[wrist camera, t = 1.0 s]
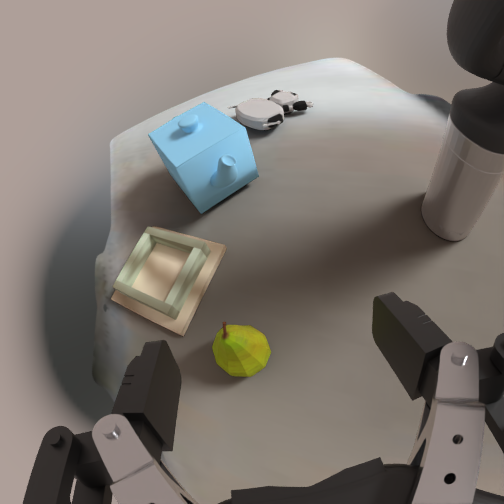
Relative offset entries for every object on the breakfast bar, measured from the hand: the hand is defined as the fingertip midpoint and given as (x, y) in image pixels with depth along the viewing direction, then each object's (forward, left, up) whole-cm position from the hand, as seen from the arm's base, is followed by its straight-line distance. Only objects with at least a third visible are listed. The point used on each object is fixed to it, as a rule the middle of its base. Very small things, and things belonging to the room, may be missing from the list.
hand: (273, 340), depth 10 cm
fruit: (-1, -7, -24) cm, 25 cm away
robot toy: (-47, -21, -24) cm, 57 cm away
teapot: (-25, -23, -24) cm, 42 cm away
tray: (-7, -23, -24) cm, 34 cm away
